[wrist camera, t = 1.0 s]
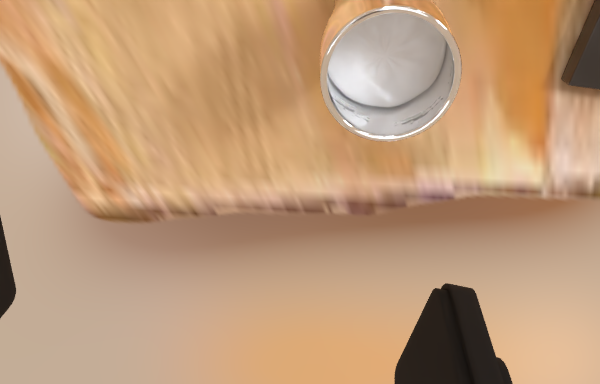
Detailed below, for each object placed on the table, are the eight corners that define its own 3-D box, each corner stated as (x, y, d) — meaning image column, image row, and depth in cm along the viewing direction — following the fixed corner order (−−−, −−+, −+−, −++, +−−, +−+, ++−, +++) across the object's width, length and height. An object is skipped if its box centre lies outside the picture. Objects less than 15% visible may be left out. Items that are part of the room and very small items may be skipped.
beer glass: (403, 68, 36) (431, 160, 24) (317, 45, 36) (300, 126, 23) (438, -26, 33) (494, 24, 20) (343, -53, 32) (338, -19, 20)
